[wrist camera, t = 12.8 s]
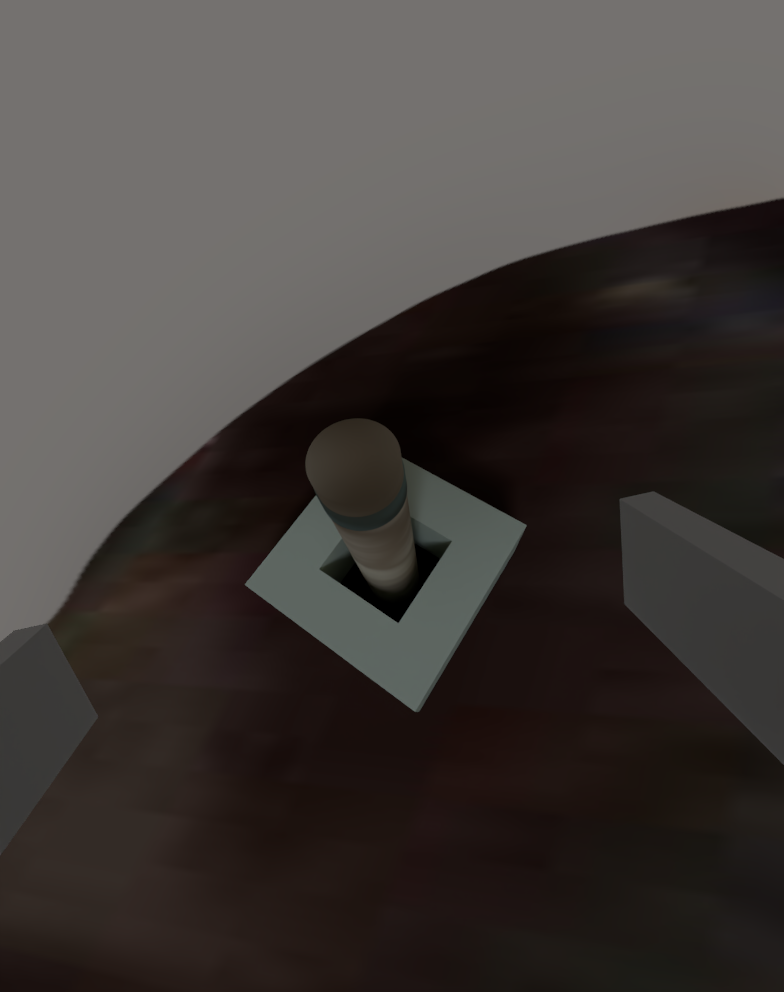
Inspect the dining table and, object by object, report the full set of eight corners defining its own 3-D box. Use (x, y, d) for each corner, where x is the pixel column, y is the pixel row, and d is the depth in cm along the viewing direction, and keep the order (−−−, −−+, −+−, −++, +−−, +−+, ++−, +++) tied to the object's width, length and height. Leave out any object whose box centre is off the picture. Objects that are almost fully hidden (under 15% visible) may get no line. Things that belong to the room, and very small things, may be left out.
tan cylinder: (396, 542, 30) (360, 401, 16) (430, 579, 28) (423, 460, 15) (357, 575, 29) (284, 457, 15) (390, 614, 28) (344, 524, 14)
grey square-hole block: (372, 470, 32) (363, 436, 28) (514, 551, 29) (526, 525, 24) (272, 602, 29) (244, 584, 25) (419, 711, 25) (415, 711, 21)
